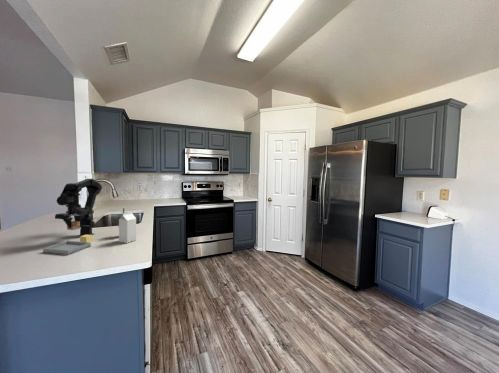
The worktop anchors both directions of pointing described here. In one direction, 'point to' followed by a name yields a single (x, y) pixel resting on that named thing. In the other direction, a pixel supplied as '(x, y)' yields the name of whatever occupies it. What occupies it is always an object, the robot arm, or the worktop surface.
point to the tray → (67, 247)
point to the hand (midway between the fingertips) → (73, 227)
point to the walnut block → (74, 225)
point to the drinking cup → (120, 216)
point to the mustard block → (86, 238)
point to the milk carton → (127, 228)
